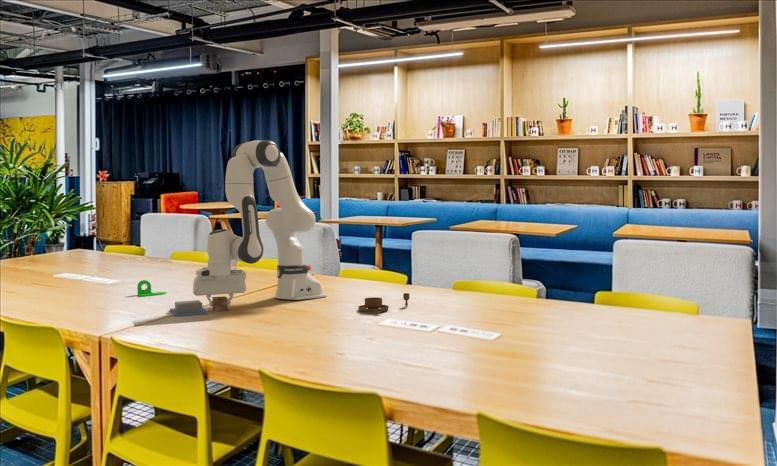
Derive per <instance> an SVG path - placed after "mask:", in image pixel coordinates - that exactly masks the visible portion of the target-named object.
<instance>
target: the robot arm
mask: <svg viewBox="0 0 777 466" xmlns="http://www.w3.org/2000/svg"><path fill="white" fill-rule="evenodd" d="M259 168H261V169H262V170H263V173H264V178H265V182H266V185H267V190H268V192H269V196H270V198H271V200H272V201H274V202H275V203H276V204H277V205H278V206H279V207H277V208H272V209H271V210H269V211H268V212H267V213H266V217H265V224H266V226H267V228H268V229H269V230H270V231H271V233H272V235H273V237H274V239H275V242H276V243H275V244H276V247H277V265H276V266H277V267H276V277H277V284H276V292H275V295H274V298H275V299H279V300H280V299H281V300H294V301H295V300H296V301H297V300H300V301H301V300H307V299H317V298H319V299H321V298H327V297H328V294H327V292H323V288H322V284H321V281H320V280H318V279H317V278H315V276H313V275H312V274H310V273H309V271H311V270H312V266H311V265H306V264H305V262H304V261H305V259H304V258H305V255H304V254H305V253H304V245H303V244H302V243H301V242H300V241H299V239H298V238H297V234H303V233H307V232H310V231H312V230H313V229H314V227H315V225H316V215H315V213H314V212H313V210H311V209H310V208H309V207H308V206H307V205H306V204H305V203H304V201H303V200H302V199H301V197H300V196H299V193H298V192H297V189H296V186H295V182H294V178H293V174H292V172H291V168H290V166H289V163H288V160H287V158H286V157H285V155H284V153H283V152H281V151H280V149H279V146H278V145H277V143H276V142H274V141H272V140H268V139H263V140H260V139H259V140H258V139H257V140H252V141H247V142H241V143H239V144H238V145H236V147H235V148H234V149H233V153H232V157H231V158H230V159H229V160H228V161H227V165H226V171H225V179H224V180H225V181H224V182H225V185H224V186H225V187H224V188H225V190H224V191H225V196H226V200H227V202H229V204H230V205H231V206H233V207H234V208H236V210H238V212H239V214H240V217H241V226H242V236H240V235H239V236H238V235H236V234H234V233H232V232H231V231H230V230H229V229H227V228H220V229H215V230H212V231H211V232H209V234H208V236H207V246H206V247H207V249H206V251H207V255H208V258H207V259H208V260H207V266H205V267H202V268H200V269H199V268H198V269H197V270H195V275H196V276H195V278H194V279H193V285H192V294H193V295H194V296H195V297H198V296H200V297H201V296H206V300H207V301H208V302H209V304H208V305H209V307H213V306H214V302H213V301H212V300H211V297H212V296H216V295H228V296H229V298H228V306H231V304H232V303H231V301H232V299H233V298H234V294H244V293H246V291H247V285H246V279H247V273H246V272H245V271H244V270H242V269H232V264H231V263H232V261H237V262H242V263H245V264H250V265H253V264H256V263H257V262H259V261H260V260H261V259H262V257H263V255H264V244H263V242H262V239H261V236H260V227H259V217H258V206H257V203H256V199H255V191H254V189H255V188H254V187H255V186H254V172H255V170H256V169H259Z"/></svg>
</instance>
